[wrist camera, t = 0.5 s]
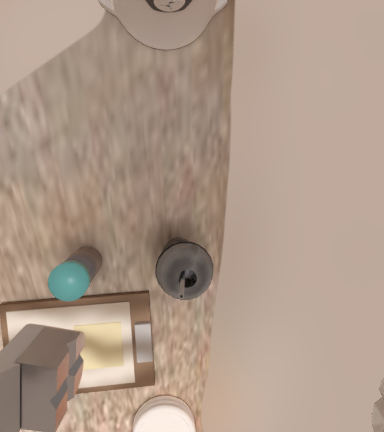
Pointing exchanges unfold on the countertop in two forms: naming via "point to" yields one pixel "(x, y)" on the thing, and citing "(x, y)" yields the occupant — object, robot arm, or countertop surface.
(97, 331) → the clipboard
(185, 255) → the beverage cup
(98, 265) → the bottle
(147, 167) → the countertop surface
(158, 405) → the coaster
